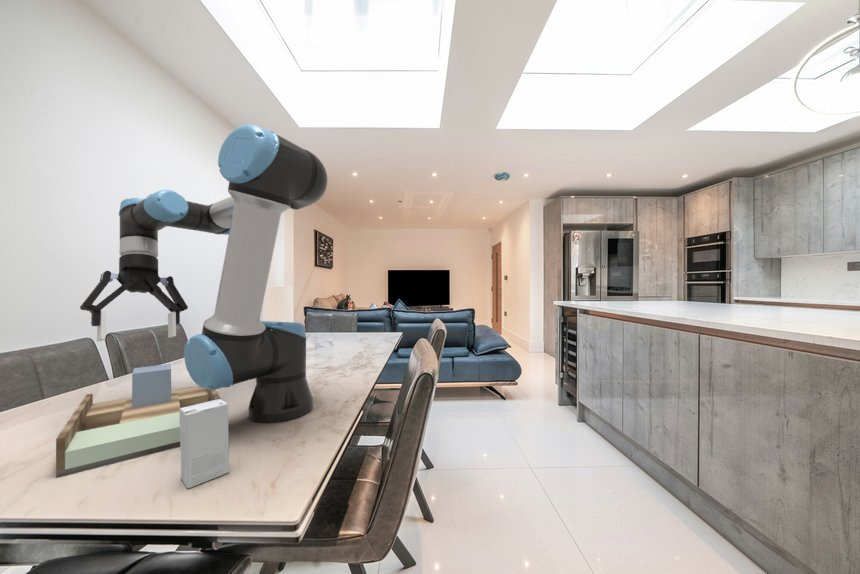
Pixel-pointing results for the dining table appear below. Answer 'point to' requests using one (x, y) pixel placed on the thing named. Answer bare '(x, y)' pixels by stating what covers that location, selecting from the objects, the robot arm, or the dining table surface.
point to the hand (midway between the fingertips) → (139, 338)
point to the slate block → (151, 385)
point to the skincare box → (204, 442)
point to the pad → (122, 439)
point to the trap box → (119, 413)
